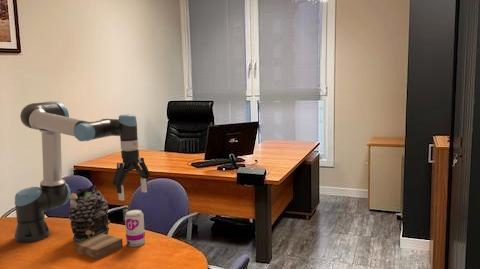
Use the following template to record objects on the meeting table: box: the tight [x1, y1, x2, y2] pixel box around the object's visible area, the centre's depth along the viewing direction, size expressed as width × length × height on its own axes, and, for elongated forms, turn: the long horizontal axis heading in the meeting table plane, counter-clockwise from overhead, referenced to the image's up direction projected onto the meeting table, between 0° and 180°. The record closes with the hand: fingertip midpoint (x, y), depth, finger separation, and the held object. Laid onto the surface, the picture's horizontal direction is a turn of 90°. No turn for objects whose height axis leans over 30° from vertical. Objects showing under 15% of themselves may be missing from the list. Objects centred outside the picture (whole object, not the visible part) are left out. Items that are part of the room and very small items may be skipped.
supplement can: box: [124, 209, 146, 248], centre depth 192 cm, size 8×8×15 cm
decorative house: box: [68, 184, 111, 244], centre depth 201 cm, size 21×15×25 cm
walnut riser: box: [75, 233, 124, 260], centre depth 187 cm, size 14×14×4 cm
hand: (133, 196), depth 190 cm, fingers open, 13 cm apart
